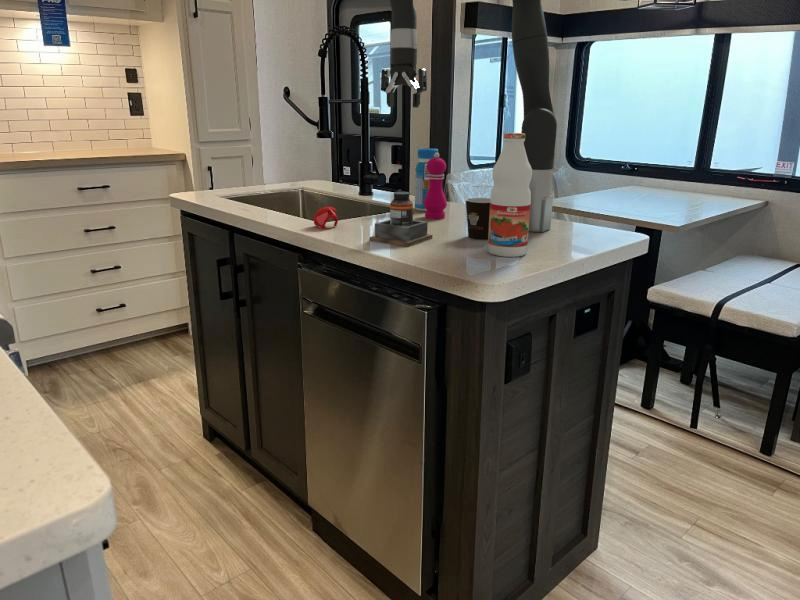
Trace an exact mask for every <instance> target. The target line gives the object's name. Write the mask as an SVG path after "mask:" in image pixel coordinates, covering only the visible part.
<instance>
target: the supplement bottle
mask: <svg viewBox="0 0 800 600" xmlns="http://www.w3.org/2000/svg"><path fill="white" fill-rule="evenodd" d="M413 204H414V203H413V201H412V200H410V192H409V191H394V193H393V199H392V201H390V204H389V209H390V210H389V220H390V225H396V226H403V227H408V226H411V225H413V220H414V205H413Z"/></svg>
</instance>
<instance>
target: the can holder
mask: <svg viewBox="0 0 800 600" xmlns="http://www.w3.org/2000/svg"><path fill="white" fill-rule="evenodd" d="M428 223H429V222H428V221H425V220H424V221H423V220H414V219H413V225H411V226H408V227H403V226H396V225H390V219H387V220H384V221H379V222H376V223H374V235H372V236H369V241H370V242H374V243H381V244H388V245H396V246H399V247H400V246H402V247H408V248H409V247H412V246H414V245H418V244H420V243H421V244H422V243H423V242H426V241H430V240H432V239H433V234H431V233H430V234H428V227H429V226H428V225H429V224H428Z"/></svg>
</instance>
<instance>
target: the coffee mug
mask: <svg viewBox="0 0 800 600" xmlns="http://www.w3.org/2000/svg"><path fill="white" fill-rule="evenodd" d="M490 198H491V197H490ZM490 198H488V197H470V198H466V199H465V208H466V211H465V212H466V223H467V226H466V227H467V236H468V237H467V238H469V239H471V240H477V241H486V240H487V241H488V233H489V215H490Z"/></svg>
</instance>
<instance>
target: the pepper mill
mask: <svg viewBox="0 0 800 600" xmlns="http://www.w3.org/2000/svg"><path fill="white" fill-rule="evenodd" d="M446 169H447V163H446V161H445V160H444V159H443V158H441V157H440V153H439V152H438V153H435V154H434V158H432V159H430V160H429V161H428V163H427V170H428V172H429V174H428V179H429V182H430V184H429V190H428V193H427V195H426V197H425V200H424V207H425V208H426V209H427V211H424V218H425V219H428V220H429V219H430V220H442V219H445V217H446V212H445V209H446V208H447V206H448V204H447V203H448V201H447V198H446V195H445V192H444V190H443V180H444V179H445V174H444V172H445V171H446Z"/></svg>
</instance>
